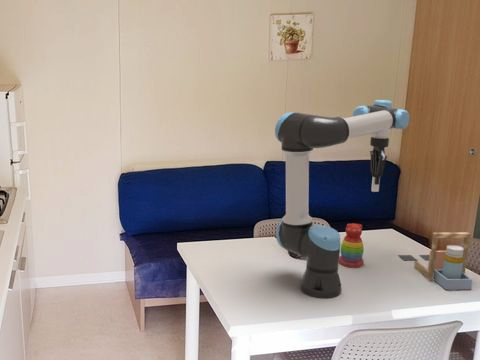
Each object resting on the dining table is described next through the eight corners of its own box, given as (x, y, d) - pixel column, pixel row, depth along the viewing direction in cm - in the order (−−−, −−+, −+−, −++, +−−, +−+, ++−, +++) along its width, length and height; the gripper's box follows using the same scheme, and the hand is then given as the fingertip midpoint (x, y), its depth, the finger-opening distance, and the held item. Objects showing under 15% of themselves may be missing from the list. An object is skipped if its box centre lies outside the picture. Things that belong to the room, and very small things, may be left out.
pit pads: (403, 260, 237) (403, 260, 237) (398, 255, 243) (398, 255, 243) (438, 260, 240) (438, 259, 239) (432, 255, 245) (432, 254, 245)
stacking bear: (362, 260, 236) (365, 220, 232) (365, 269, 226) (369, 228, 222) (337, 258, 237) (340, 219, 233) (338, 267, 227) (342, 226, 223)
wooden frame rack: (429, 281, 216) (435, 234, 211) (413, 267, 230) (418, 223, 225) (464, 280, 218) (470, 233, 213) (446, 267, 232) (451, 222, 227)
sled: (445, 289, 208) (448, 267, 206) (424, 271, 225) (426, 250, 223) (470, 289, 209) (473, 267, 207) (447, 271, 226) (449, 250, 225)
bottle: (462, 287, 211) (467, 250, 208) (444, 287, 211) (449, 250, 208) (455, 280, 218) (460, 244, 214) (438, 279, 218) (442, 244, 214)
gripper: (394, 139, 225) (389, 195, 230) (382, 135, 237) (377, 187, 243) (377, 139, 224) (372, 194, 229) (366, 134, 236) (361, 187, 242)
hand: (374, 191), depth 236 cm, fingers closed
